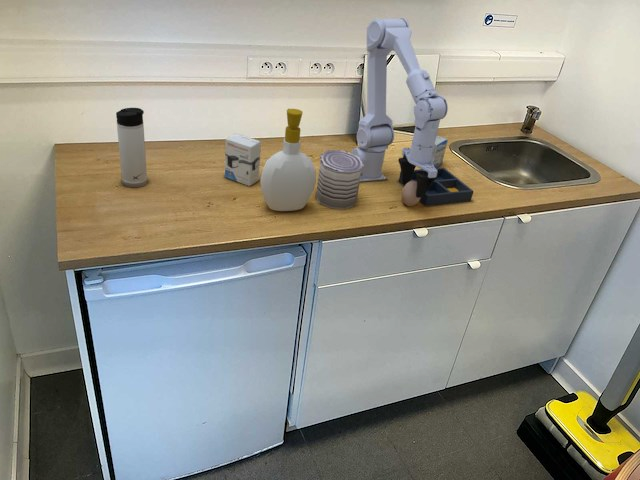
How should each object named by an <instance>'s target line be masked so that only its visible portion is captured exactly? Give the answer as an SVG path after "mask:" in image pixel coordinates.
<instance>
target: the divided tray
mask: <svg viewBox="0 0 640 480" xmlns="http://www.w3.org/2000/svg"><path fill="white" fill-rule="evenodd" d="M435 169H436V170H437V171H438V172H437V175H438V177H437V179H436V180H435V181H434V182H433V183H432V184H431V185H430V187H429V188H428V190H427V192H426V193H425V195H424V197H421V198H420V200H419V203H421V204H422V205H423V206H424V207H432V206H443V205H448V204H449V205H450V204H458V203H467V202H471V201H472V198H473V195H474V192H475V191H474V190H473V189H472V188H471V187H470V186H468V185H467V184H466V183H464V182H463V181H462V180H460V179H459V178H458V177H457V176H455V175H454V174H453V173H452V172H451V171H449V170H448V169H446V168H445V167H436V168H435ZM416 173H423V170H422V169H421V168H420V169H414V172H413V175H412V178H411V181H417V177H416ZM398 182H399V183H400V184H401V186H403V187H404V186H405V185H406V184H402V176H401V170H400V171H399V176H398Z"/></svg>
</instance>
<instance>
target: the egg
mask: <svg viewBox="0 0 640 480" xmlns="http://www.w3.org/2000/svg"><path fill="white" fill-rule="evenodd" d="M416 190H417V181H410V182H408V183H407V184H406V185H405V186H403V188H402V190H401V200H402V202H403V203H404V204H405V205H406V206H408V207H412V206H416V205H417V204H418V203H420V201H419V200H420V198H421V197H419V198H417V197H416Z"/></svg>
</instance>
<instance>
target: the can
mask: <svg viewBox="0 0 640 480" xmlns="http://www.w3.org/2000/svg"><path fill="white" fill-rule="evenodd" d="M319 159H320V161H319V169H318V175H317V184H316V185H317V186H316V193H315V199H316V200H317V201H318V203H319V204H320V205H322V206H324V207H327V208H329V209H333V210H347V209H350V208H353V207H355V205H356V203H357V201H358V195H359V189H360V184H361V182H360V178H361V172H362V167H363V166H364V164H363V162H362V161H361V159H360V158H359V157H358V156H356V155H354V154H351V152H349V151H346V150H342V149H341V150H338V149H337V150H336V149H327V150H325V151H324V152H323V153H322V154H320V155H319Z"/></svg>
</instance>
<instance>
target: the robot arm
mask: <svg viewBox="0 0 640 480" xmlns="http://www.w3.org/2000/svg"><path fill="white" fill-rule="evenodd" d="M411 37H412V29H411V27H410V24H409V22H408V20H407V19H406V18H403V17H400V18H377V17H375V18H373V19H372V20H371V21H370V23H368V25H367V27H366V114H365V115H364V116H363V117H362V118H360V120H359V121H358V129H357V132H356V142H357V144H358V147H354V148H352V149H351V151H350V153H351V154H354V155H356V156H358V157H359V158H360V159H361V161H362V162H363V164H364V166H363V167H362V172H361V178H360V183H362V182H372V181H373V182H374V181H383V180H387V177H386V176H385V175H384V174H383V173H382V171H383V165H384V161H385V155H386V150H388V149H389V146H390V145H392V144H393V143H394V140H395V130H394V126H393V119H392V118H391V117H389V115H387V76H388V75H387V73H388V72H387V69H388V65H387V64H388V56H389V54H390V53H392V51H393V52H394V53H395V54H396V56H397V58H398V60H399V62H400V64H401V65H402V67H403V69H404V71H405V72H406V74H407V77H406V79H405V83H406V86H407V88H408V91H409V93H410V94H411V97H412V99H413V102H414V104H415V105H414V106H413V114H414V121H413V124H414V126H415V127H414V131H413V136H412V141H411V146H410V147H402V149H401V156H402V157H399V158H398V163H399V164H398V165H399V167H400V171H401V176H402V184H407V183H408V182H410V181H411V178H412V175H413V172H414V170H416V167H417V168H419V169H420V170H421V169H422V170H423V173H416V177H417V190H416V197H417V198H419V197H424V195H425V193H426V192H427V190H428V188H429V187H430V185H431V184H432V183H433V182H434V181H435V180H436V179H437V177H438V175H437V172H438V171H437V170H436V169H435V167H434V165H433V163H432V162H433V161H434V159H433V158H432V152H433V148H434V144H435V140H436V136H438V131H439V127H440V123H441V120H443V119H445V118H446V116H447V114H448V111H449V110H448V109H449V107H448V106H449V105H448V102H447V99H446V97H444V96H443V95H441V94H440V93H439V92H437V90H436V88H435V86H434V83H433V81H432V80H431V76H430V74H429V73H428V71H427V70H424V69H421V66H420V64H419V61H418V57H417V55H416V52H415V50H414V46H413V44H412V42H411ZM402 184H401V185H402Z"/></svg>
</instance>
